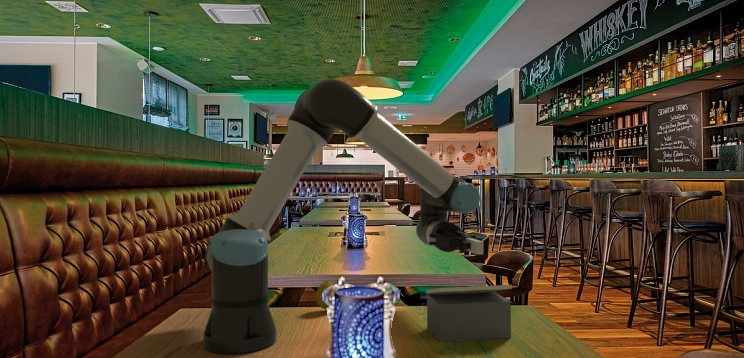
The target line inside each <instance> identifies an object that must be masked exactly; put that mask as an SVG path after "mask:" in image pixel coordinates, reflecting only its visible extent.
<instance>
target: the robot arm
mask: <svg viewBox="0 0 744 358" xmlns="http://www.w3.org/2000/svg"><path fill="white" fill-rule="evenodd" d="M286 125H287V128H288V129H287V132H286V134H285V135H284V136H283V139H282V140H281V142H280V144H279V145H278V147H277V149H276V150H275V152H274V154H273V155H272V157H271V158H270V160H269V161H268V164H267V165H266V166H265V168H264V169H263V171H262V173H261V175H260V176H259V178H258V180H257V181H256V183H255V185H254V186H253V188H252V190H251V191H250V192H249V195H248V196H247V198H246V199H245V201H244V202H243V204H242V205H241V208H240V209H239V210H238V212H237V213H236V214H235V213H234V214H232V215H231V214H230V215H228V216H227V218H226V220H225V221H224V223H223V225H222V226H221V228H220V230H218V232H217V233H215V234H214V235H213V237H212V238H211V239H210V240H209V242H208V245H207V247H206V251H205V259H206V263H207V267H208V269H209V270H210V271H211V310H210V312H209V316H208V319H207V322H206V325H205V329H204V331H203V338H202V342H203V343H202V344H203V348H204V349H205V350H207V351H209V352H213V353H216V354H230V355H231V354H244V353H245V354H246V353H252V352H256V351H259V350H263V349H266V348H268V347H270V346H272V345H274V344H275V343H276V341H277V327H276V324H275V321H274V319H273V315H272V312H271V309H270V306H269V274H268V273H269V251H270V249H269V243H270V242H271V235H270V230H271V229H272V226H273V224H274V223H275V221H276V219H277V218H278V217H279V215H280V214H281V211H282V210H283V207H284V206H285V205H286V202H287V201H288V200H289V198H290V196H291V194H292V193H293V191H294V189H295V188H296V186H297V185H298V182H299V181H300V179H301V178H302V176H303V173H304V172H305V171H306V169H307V168H308V165H310V162H311V161H312V159H313V157H314V156H315V154H316V153H317V150H318V149H320V148H323V147H326V146H327V145H328V144H329V142H330V140H331V138H332V137H333V135H334V134H335V132H336V131H341V132H342V133H343V134H344V135H345V134H346V135H347V137H348V138H350V139H359V140H360V141H361V142H362V143H364V144H365V145H366V146H367V147H369V148H370V149H372V151H374V152H375V153H376V154H377V155H379V156H380V157H381V158H383V159H384V160H385V161H387V162H388V163H390V164H391V165H392V167H394V168H395V169H396V170H398V171H399V172H401V173H402V174H403V175H405V176H406V177H407V178H408V179H410V180H411V181H412V182H413V183H414V184H415V185H417V186H419V205H420V207H419V208H420V209H419V221H418V222H417V224H416V228H415V233H416V237H417V238H418V239H419V240H420V241H421V242H422V243H423V244H424V245H427V246H431V247H433V248H435V249H438V251H439V252H445V253H452V252H454V251H456V250H459V254H460V253H462V254H464V253H466V252H470V253H472V254H474V255H484V240H483V238H482V237H481V236H480V234H479V233H474V234H471V235H470V236H469V235H468V234H467V233H466V232H463V231H462V229H461V227H460V226H458V224H457V223H453V222H451V221H448V212H449V213H450V212H451V213H457V214H471V213H472V212H474V211H475V210H476V209H477V208H478V207H479V204H480V201H481V194H480V191H479V189H478V188H477V186H476V185H474V184H472V183H470V182H464V181H463V182H462V181H461V180H460V179H459V178H458V177H457V176H455V175H454V174H453V173H452V172H450V171H449V170H447V169H446V168H445V167H444V166H443V165H441V164H440V163H439V162H438V161H437V160H435V158H433V157H432V156H431V155H430V154H428V153H427V152H425V150H423V149H422V148H421V147H420V146H419V145H417V144H416V143H415V142H414V141H413V140H411V139H410V138H409V137H408V136H406V135H405V134H404V133H403V132H401V131H400V130H399V129H398V128H397V127H395V125H393V124H392V123H390V121H388V119H386V118H385V117H384V116H382V115H381V114H380V113H379V112H378V106H377V105H376V104H374V103H373V102H372V101H371V100H370V99H368V98H367V97H366V96H365V95H363V93H361V92H360V91H359V90H357V89H356V88H354V87H353V86H352V85H350V84H348V83H347V82H345V81H343V80H339V79H334V78H328V79H323V80H321V81H319V82H318V83H316V84H315V85H313V86H312V87H309V88H307V89H306V90H304V91H303V92H302V93H301V94H300V95H299V96H298V97H297V99H296V101H295V103H294V109H293V111H292V112H291V114H290V116H289V117H288V119H287V120H286Z"/></svg>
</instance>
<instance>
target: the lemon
mask: <svg viewBox="0 0 744 358" xmlns="http://www.w3.org/2000/svg"><path fill="white" fill-rule="evenodd" d="M331 285H335V284H333V282H331V281H329V280H326V281H324V282H322V283H321V284H320V285H319V286H318V288H317V291H316V302H317V304H318V306H319V307H320V308H321V309H323V310H325V311H326V308H327V306H326V305H325V304H324V303H323V302H322V297H321V296H322V292H323V290H324V289H326V288H327V287H329V286H331Z"/></svg>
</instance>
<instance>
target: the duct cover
mask: <svg viewBox="0 0 744 358" xmlns="http://www.w3.org/2000/svg"><path fill="white" fill-rule="evenodd" d="M510 289H511V290H512V289H513V287H512V284H501V285H499V284H497V285H481V286H480V285H477V286H455V287H436V288H432V289H426V290H425V294H426V295H427V294H439V293H461V292H482V291H493V292H495V291H503V290H510Z"/></svg>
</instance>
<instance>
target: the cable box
mask: <svg viewBox="0 0 744 358" xmlns="http://www.w3.org/2000/svg"><path fill="white" fill-rule="evenodd" d="M426 329H427V330H428V331H429V332H430V333H431V334H432V335H433V336H434V337H435V338H436V339H437V340H438V342H439V343H450V342H451V343H452V342H454V343H455V342H467V341H468V342H469V341H470V342H471V341H480V340H481V341H482V340H483V341H484V340H500V339H512V301H511V300H509V299H508V298H506V297H504V296H502V295H500V294H499V293H496V292H495V291H473V292H452V293H430V294H426Z"/></svg>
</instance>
